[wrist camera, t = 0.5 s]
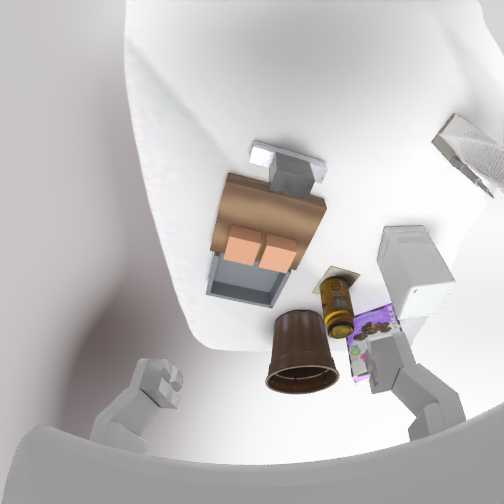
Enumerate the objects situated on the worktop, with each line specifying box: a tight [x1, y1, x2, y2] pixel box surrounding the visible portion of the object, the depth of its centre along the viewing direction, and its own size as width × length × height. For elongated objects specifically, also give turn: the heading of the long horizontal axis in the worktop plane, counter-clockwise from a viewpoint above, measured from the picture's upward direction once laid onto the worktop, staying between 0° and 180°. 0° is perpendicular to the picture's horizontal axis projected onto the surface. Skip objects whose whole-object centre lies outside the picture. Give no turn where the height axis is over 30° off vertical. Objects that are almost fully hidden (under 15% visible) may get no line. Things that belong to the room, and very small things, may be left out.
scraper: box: [249, 141, 328, 200], centre depth 37 cm, size 3×11×9 cm, turn 75°
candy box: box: [346, 304, 402, 385], centre depth 60 cm, size 14×6×16 cm, turn 119°
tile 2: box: [223, 225, 261, 266], centre depth 47 cm, size 5×5×3 cm
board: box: [210, 173, 327, 270], centre depth 47 cm, size 14×16×3 cm
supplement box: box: [377, 226, 455, 320], centre depth 45 cm, size 9×9×15 cm
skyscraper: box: [432, 113, 504, 199], centre depth 24 cm, size 8×8×28 cm
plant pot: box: [265, 310, 339, 394], centre depth 62 cm, size 16×16×16 cm
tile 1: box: [258, 234, 297, 273], centre depth 47 cm, size 5×5×3 cm
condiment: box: [312, 266, 360, 339], centre depth 54 cm, size 7×8×12 cm
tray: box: [206, 252, 291, 308], centre depth 55 cm, size 11×14×4 cm
